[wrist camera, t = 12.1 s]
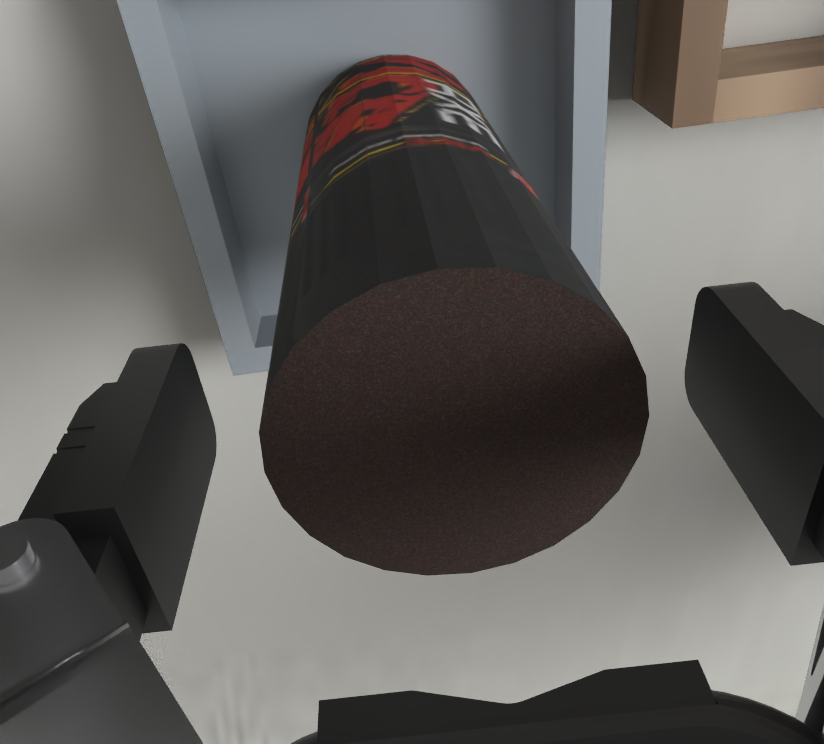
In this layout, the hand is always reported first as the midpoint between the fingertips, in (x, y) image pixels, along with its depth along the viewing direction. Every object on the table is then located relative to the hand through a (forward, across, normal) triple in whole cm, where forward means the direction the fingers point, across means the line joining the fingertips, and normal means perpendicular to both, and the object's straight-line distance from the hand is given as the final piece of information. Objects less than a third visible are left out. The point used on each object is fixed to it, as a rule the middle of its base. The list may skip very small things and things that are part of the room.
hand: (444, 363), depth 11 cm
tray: (+15, +1, +1) cm, 15 cm away
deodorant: (+14, 0, +1) cm, 14 cm away
